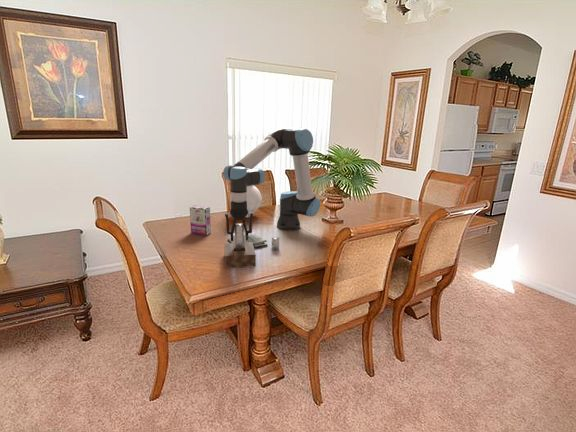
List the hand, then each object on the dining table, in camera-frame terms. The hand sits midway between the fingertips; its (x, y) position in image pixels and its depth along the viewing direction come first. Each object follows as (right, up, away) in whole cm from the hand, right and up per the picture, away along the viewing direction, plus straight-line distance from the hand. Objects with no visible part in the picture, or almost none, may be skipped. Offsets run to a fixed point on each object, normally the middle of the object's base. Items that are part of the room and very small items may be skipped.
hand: (239, 246), depth 162 cm
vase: (-6, +15, +74) cm, 76 cm away
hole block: (0, -7, +2) cm, 7 cm away
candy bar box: (-29, +4, +37) cm, 47 cm away
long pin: (0, -6, +2) cm, 7 cm away
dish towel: (+1, -1, +24) cm, 24 cm away
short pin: (+17, -3, +17) cm, 24 cm away
